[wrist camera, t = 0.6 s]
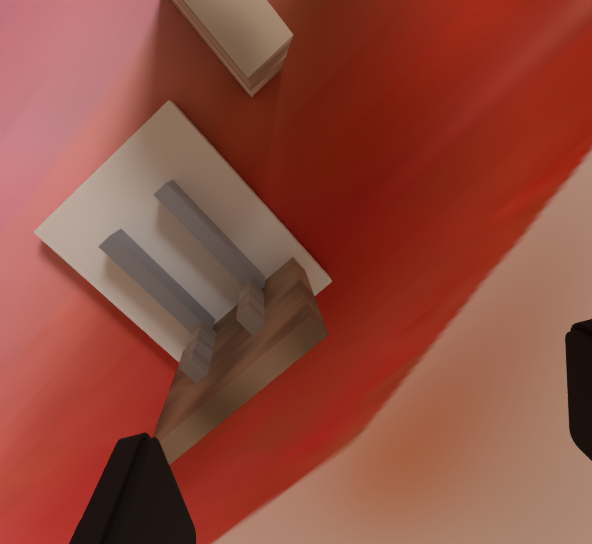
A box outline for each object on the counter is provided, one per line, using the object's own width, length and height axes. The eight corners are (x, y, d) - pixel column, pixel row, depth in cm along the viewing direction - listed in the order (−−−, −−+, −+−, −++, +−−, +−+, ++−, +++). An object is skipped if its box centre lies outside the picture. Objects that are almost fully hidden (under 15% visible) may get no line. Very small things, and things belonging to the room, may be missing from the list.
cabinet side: (280, 242, 34) (291, 296, 22) (305, 270, 35) (328, 335, 23) (169, 339, 35) (127, 434, 24) (196, 363, 36) (167, 466, 25)
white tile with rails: (172, 101, 32) (161, 96, 28) (329, 275, 37) (337, 291, 33) (42, 228, 33) (15, 239, 30) (208, 377, 38) (202, 404, 35)
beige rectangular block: (193, -44, 29) (156, -145, 19) (281, 68, 32) (293, 34, 21) (161, -11, 30) (107, -92, 19) (251, 97, 32) (247, 78, 22)
